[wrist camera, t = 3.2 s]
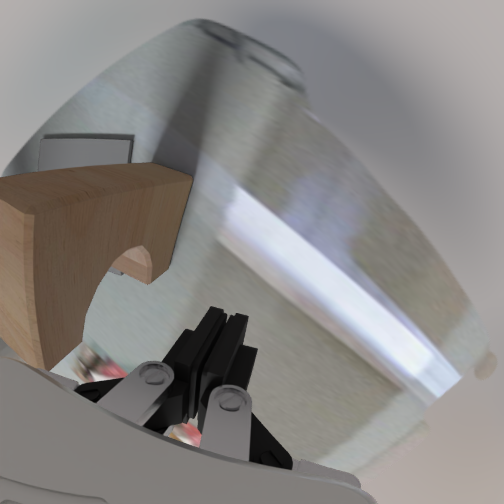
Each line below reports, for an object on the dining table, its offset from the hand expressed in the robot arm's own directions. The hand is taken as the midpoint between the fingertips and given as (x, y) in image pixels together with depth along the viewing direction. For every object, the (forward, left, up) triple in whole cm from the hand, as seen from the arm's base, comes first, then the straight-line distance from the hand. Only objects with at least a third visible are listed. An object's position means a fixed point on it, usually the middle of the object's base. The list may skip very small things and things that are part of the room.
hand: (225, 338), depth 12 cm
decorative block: (-12, 0, -17) cm, 21 cm away
